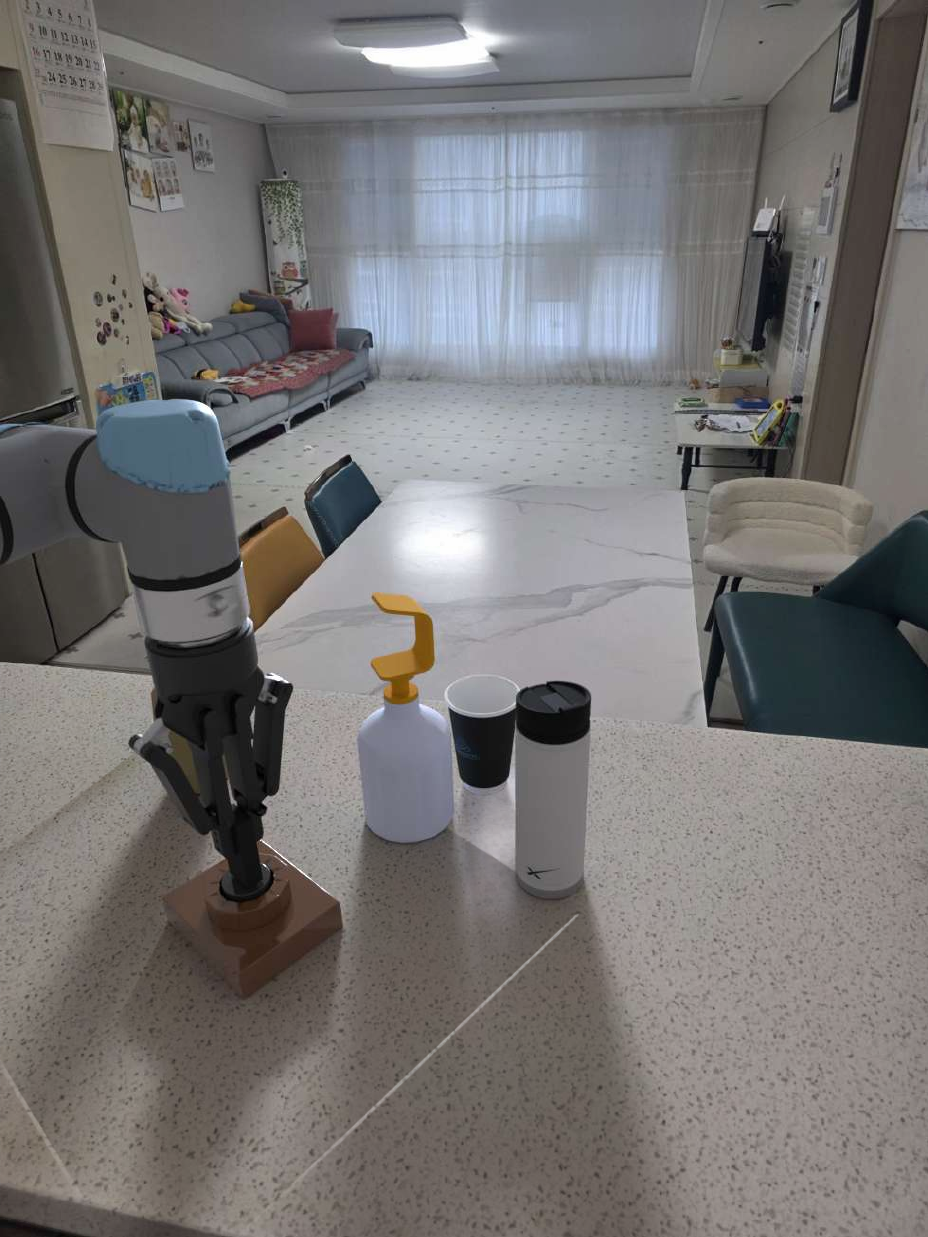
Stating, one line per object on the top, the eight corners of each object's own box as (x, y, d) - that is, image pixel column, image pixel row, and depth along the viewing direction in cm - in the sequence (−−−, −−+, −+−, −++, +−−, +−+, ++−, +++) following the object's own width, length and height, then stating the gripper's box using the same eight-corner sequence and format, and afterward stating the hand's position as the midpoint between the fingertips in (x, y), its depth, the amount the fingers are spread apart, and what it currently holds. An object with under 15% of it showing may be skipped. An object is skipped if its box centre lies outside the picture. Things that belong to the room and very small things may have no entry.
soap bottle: (354, 801, 86) (330, 588, 75) (435, 778, 89) (423, 570, 79) (380, 856, 79) (359, 627, 68) (468, 829, 82) (460, 606, 71)
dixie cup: (525, 762, 92) (526, 677, 87) (516, 808, 85) (516, 717, 80) (455, 756, 93) (452, 671, 88) (440, 800, 86) (436, 711, 81)
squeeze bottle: (183, 813, 85) (149, 661, 77) (152, 778, 91) (117, 633, 83) (253, 779, 90) (228, 634, 82) (219, 748, 96) (193, 609, 88)
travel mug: (537, 912, 72) (539, 720, 63) (503, 864, 77) (502, 680, 69) (598, 890, 74) (609, 700, 65) (561, 844, 80) (567, 664, 71)
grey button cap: (216, 897, 70) (212, 879, 69) (256, 872, 73) (252, 854, 72) (242, 921, 68) (238, 903, 67) (282, 894, 70) (279, 876, 69)
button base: (167, 922, 72) (156, 879, 70) (263, 862, 79) (256, 820, 76) (244, 1001, 65) (234, 955, 62) (343, 927, 71) (338, 883, 69)
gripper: (137, 677, 52) (200, 946, 63) (303, 609, 61) (335, 856, 71) (85, 642, 57) (152, 897, 67) (246, 583, 65) (284, 818, 76)
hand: (246, 875), depth 69 cm, fingers closed
